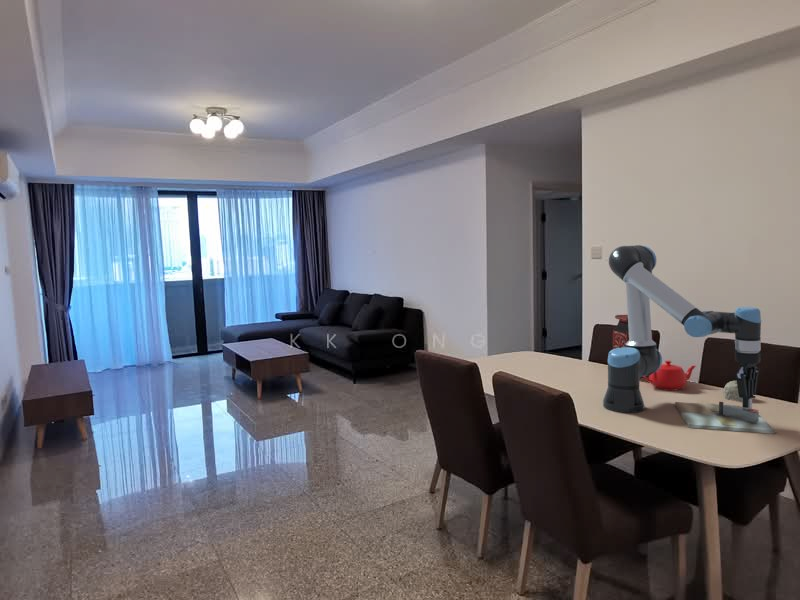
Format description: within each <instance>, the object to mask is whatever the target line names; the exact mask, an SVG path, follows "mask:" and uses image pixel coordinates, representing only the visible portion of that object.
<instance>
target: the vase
mask: <svg viewBox="0 0 800 600" xmlns="http://www.w3.org/2000/svg"><path fill="white" fill-rule="evenodd" d="M614 318H615V319H616V320H619V321H618V323H617V324H616V326H614V328H612V350H613V349H615V348H622V347H626V343H627V342H628V341H629V328H628V314H616V315H615V316H614ZM653 333H654V331H653V330H651V334H652V338H653V336H654V335H653ZM646 377H647V378H648V377H649V375H648V376H646Z"/></svg>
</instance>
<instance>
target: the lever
mask: <svg viewBox="0 0 800 600" xmlns="http://www.w3.org/2000/svg"><path fill="white" fill-rule="evenodd" d="M723 415H726V416H730V417H734V418H738V419H742V420H746V421H751V422H755V423H756V422H758V421H759V415H760V412H759V410H758V409H755V408H752V409H749V410H748V409H743V408H739V407H734V406H730V405H729V404H723Z"/></svg>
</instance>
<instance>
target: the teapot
mask: <svg viewBox="0 0 800 600" xmlns="http://www.w3.org/2000/svg"><path fill="white" fill-rule="evenodd" d="M696 367H697V365H690V366H689V367H688V369H687V371H686V372H685V371H684V369H683V367H682V366H680V365H676V364H672V360H664V363H662V364H661V367H660V368H659V370H658V371H656V372H655V373H653V374H651V375H648V377H649V378H648V377H646V376H644V377H643V379H644V380H646V381H647V382H649V383H650V384H651V385H652V386H653V387H655V388H656V389H659V388H660V390H664V389H666V390H667V391H677V390H676V389H679V390H681V389H683V388H685V387H686V386H687V384H688V380H690V378H691V376H692V373H693V370H694V369H695V368H696ZM666 390H665V391H666Z"/></svg>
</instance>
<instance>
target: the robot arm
mask: <svg viewBox="0 0 800 600" xmlns="http://www.w3.org/2000/svg"><path fill="white" fill-rule="evenodd" d="M656 265H657V256H656V253H655V252H654V250H652V249H651V248H650V247H648V246H645V245H640V244H639V245H622V246H618V247H616V248H614V250H613V251H612V252H611V253H610V255H609V257H608V266H609V268H610V270H611V271H612V273H613V274H614V275H615V276H617V277H618V278H619V279H620V280H622V281H623V282H624V283H625V293H626V306H627V307H626V309H627V310H626V312H627V315H628V328H629V341H628V342H627V343H626V347H622V348H615V349H613V348H612V349H611V350H610V351H609V352H608V356H607V388H606V391H605V395H604V397H603V400H602V406H603V408H605V409H607V410H609V411H613V412H618V413H619V412H620V413H638V412H642V411H644V410H645V403H644V398H643V397H642V393H641V390H640V379H641V378H644V376H648V377H649V376H650V375H651V374H653V373H655V372H656V371H658V370H659V368H660V367H661V364H663V357H662V354H661V352H660V351H659V349H657V343H656V341H654V340H653V337H652V336H653V335H652V334H651V331H652V322H651V321H652V320H651V304H650V300H651V301H652V302H654V303H655V304H656V305H657V306H658V307H660V308H662V310H664V311H665V312H666V313H668V315H670V316H672V318H673V319H675V320H676V321H678V323H680V324H681V325H682V326H683V327H684V331H685V332H686V334H687V335H688V336H689V337H692V338H703V337H707V336H708V335H709V336H710V335H713V334H718V333H723V334H734V337H735V338H734V339H735V340H734V345H735V347H734V348H735V351H734V360H735V362H737V363H739V366H738V372H735V373H734V376H735V379H736V381H737V387H738V394H739V397H740V398H742V401H741V406H742V408H743V409H748V410H749V409H753V399H756V393H757V387H758V378H759V373H760V367H757V364H759V363H761V353H760V352H761V350H762V349H761V338H762V337H761V336H762V335H761V333H762V331H761V329H762V318H761V314H762V313H761V310H760V309H759V308H757V307H751V306H746V307H744V306H743V307H742V306H741V307H736V308H735V311H734V312H727V311H713V310H708V311H707V310H706V311H705V310H704V311H701V309H699V308H698V307H696V306H695V305H694V304H692V303H691V302H690V301H688V300H687V299H686V298H684V297H683V296H682V295H681V294H679V293H678V292H677V291H675V290H674V289H673V288H671V287H670V286H669V285H668V284H666V283H665V282H663V281H662V280H661V279H660V278H658V277H657V276H655V274H653V270H654V269H655V268H656Z"/></svg>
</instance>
